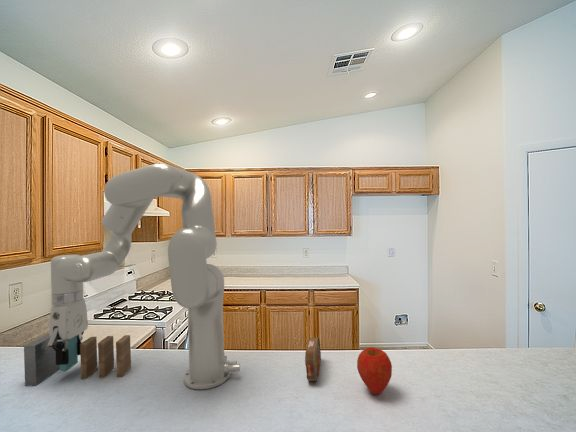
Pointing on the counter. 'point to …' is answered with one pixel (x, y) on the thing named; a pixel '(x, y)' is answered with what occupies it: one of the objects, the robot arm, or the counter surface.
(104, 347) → the domino
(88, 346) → the domino
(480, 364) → the counter surface
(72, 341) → the domino
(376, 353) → the apple
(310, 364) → the tin
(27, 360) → the block
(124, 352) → the domino
